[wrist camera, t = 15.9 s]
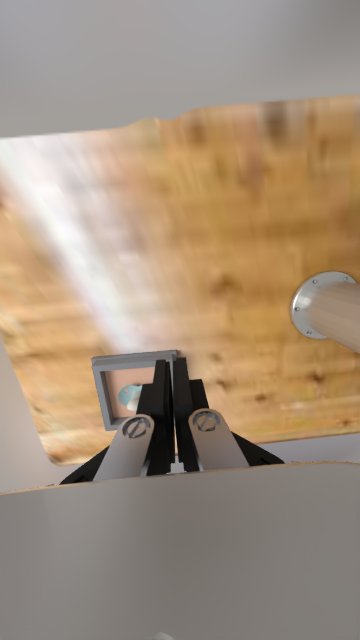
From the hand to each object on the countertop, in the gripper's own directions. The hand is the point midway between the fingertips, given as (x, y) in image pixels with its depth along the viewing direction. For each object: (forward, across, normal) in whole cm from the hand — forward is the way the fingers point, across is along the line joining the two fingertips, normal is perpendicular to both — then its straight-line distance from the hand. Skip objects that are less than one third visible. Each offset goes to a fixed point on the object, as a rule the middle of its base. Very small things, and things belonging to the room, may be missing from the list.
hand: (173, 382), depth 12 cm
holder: (+27, +8, +18) cm, 34 cm away
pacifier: (+26, +8, +19) cm, 33 cm away
